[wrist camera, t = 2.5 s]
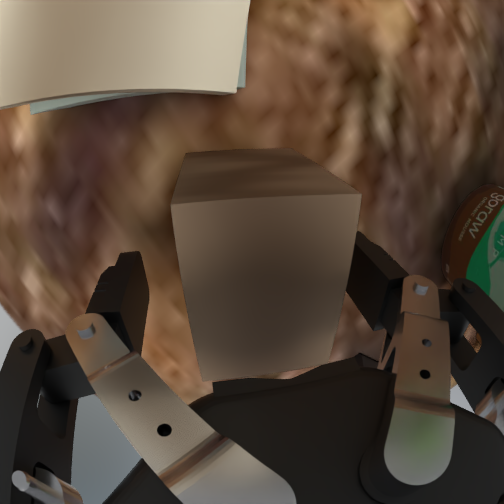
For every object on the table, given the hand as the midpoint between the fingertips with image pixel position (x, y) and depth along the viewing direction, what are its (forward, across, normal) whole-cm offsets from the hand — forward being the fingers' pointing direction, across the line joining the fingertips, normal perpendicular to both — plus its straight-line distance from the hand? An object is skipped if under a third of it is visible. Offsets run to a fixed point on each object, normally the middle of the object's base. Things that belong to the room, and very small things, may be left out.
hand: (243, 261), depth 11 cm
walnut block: (+4, 0, 0) cm, 4 cm away
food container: (+4, -18, +1) cm, 18 cm away
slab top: (0, +4, -13) cm, 14 cm away
